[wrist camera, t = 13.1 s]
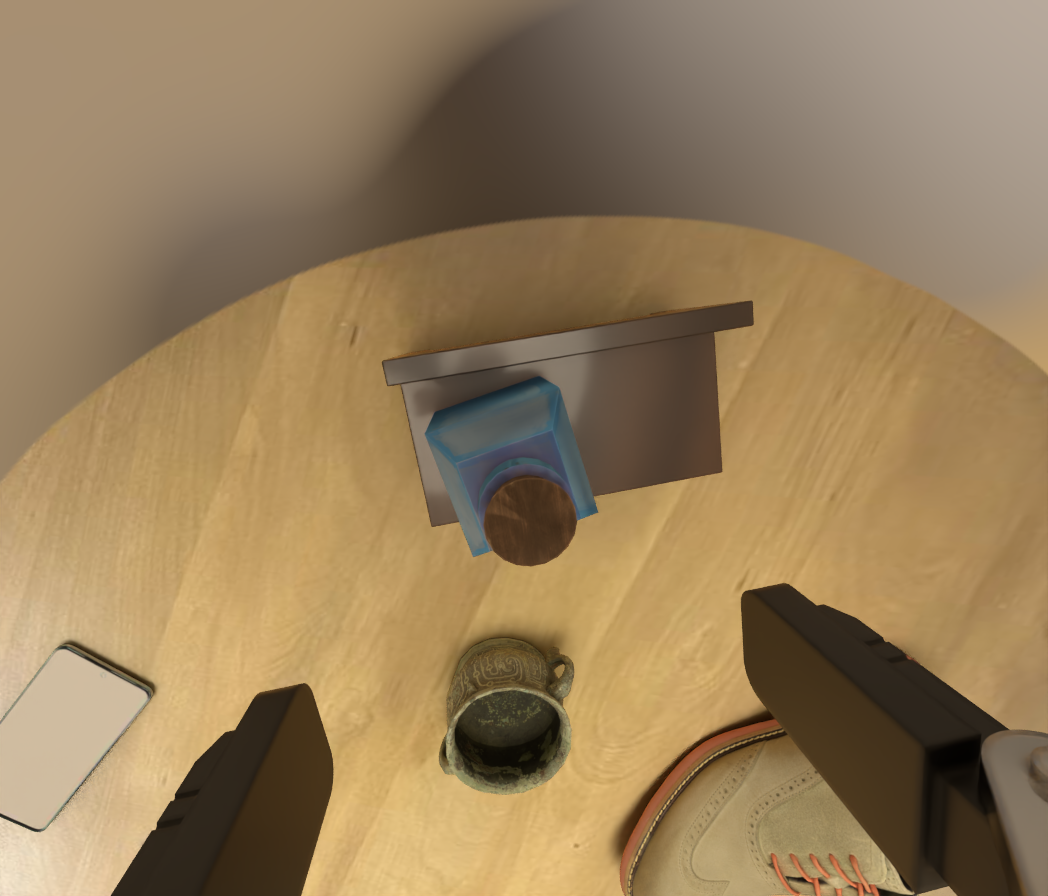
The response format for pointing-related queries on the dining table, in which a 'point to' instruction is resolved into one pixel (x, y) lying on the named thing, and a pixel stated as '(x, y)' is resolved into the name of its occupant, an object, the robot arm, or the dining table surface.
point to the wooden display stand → (591, 394)
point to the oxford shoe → (752, 828)
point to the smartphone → (62, 733)
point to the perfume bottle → (513, 471)
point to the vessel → (507, 717)
